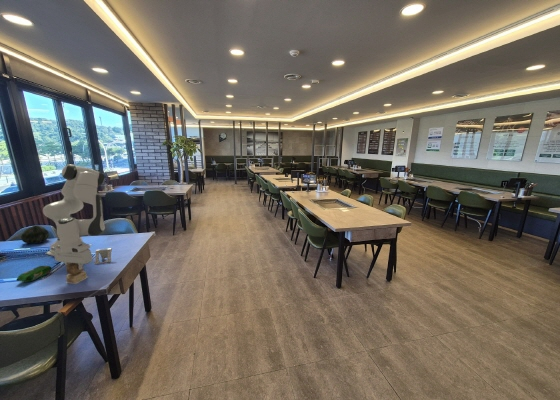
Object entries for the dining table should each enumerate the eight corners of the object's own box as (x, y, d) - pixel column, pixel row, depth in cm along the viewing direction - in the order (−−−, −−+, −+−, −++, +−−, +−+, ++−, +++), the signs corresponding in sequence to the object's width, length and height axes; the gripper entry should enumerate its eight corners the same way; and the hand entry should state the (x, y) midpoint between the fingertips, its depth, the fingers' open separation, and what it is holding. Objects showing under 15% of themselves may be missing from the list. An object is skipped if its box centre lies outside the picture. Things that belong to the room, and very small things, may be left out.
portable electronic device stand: (94, 265, 148) (92, 253, 146) (98, 260, 155) (97, 248, 153) (110, 263, 151) (108, 251, 149) (113, 258, 158) (112, 247, 156)
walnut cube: (67, 273, 126) (65, 265, 125) (76, 269, 131) (74, 261, 130) (75, 274, 126) (73, 266, 125) (83, 269, 131) (82, 262, 130)
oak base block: (67, 282, 127) (66, 275, 126) (77, 276, 133) (76, 270, 132) (76, 283, 126) (75, 276, 126) (86, 277, 132) (85, 271, 131)
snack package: (13, 285, 125) (11, 276, 124) (44, 270, 140) (43, 263, 139) (25, 286, 124) (23, 277, 123) (55, 271, 139) (53, 263, 138)
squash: (25, 233, 184) (19, 223, 174) (51, 231, 193) (47, 221, 183) (23, 249, 178) (17, 239, 168) (50, 245, 186) (45, 236, 177)
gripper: (48, 247, 123) (53, 270, 126) (81, 250, 121) (85, 273, 124) (60, 242, 130) (65, 264, 132) (92, 245, 127) (96, 267, 130)
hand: (75, 268), depth 128 cm, fingers closed on walnut cube, 5 cm apart
